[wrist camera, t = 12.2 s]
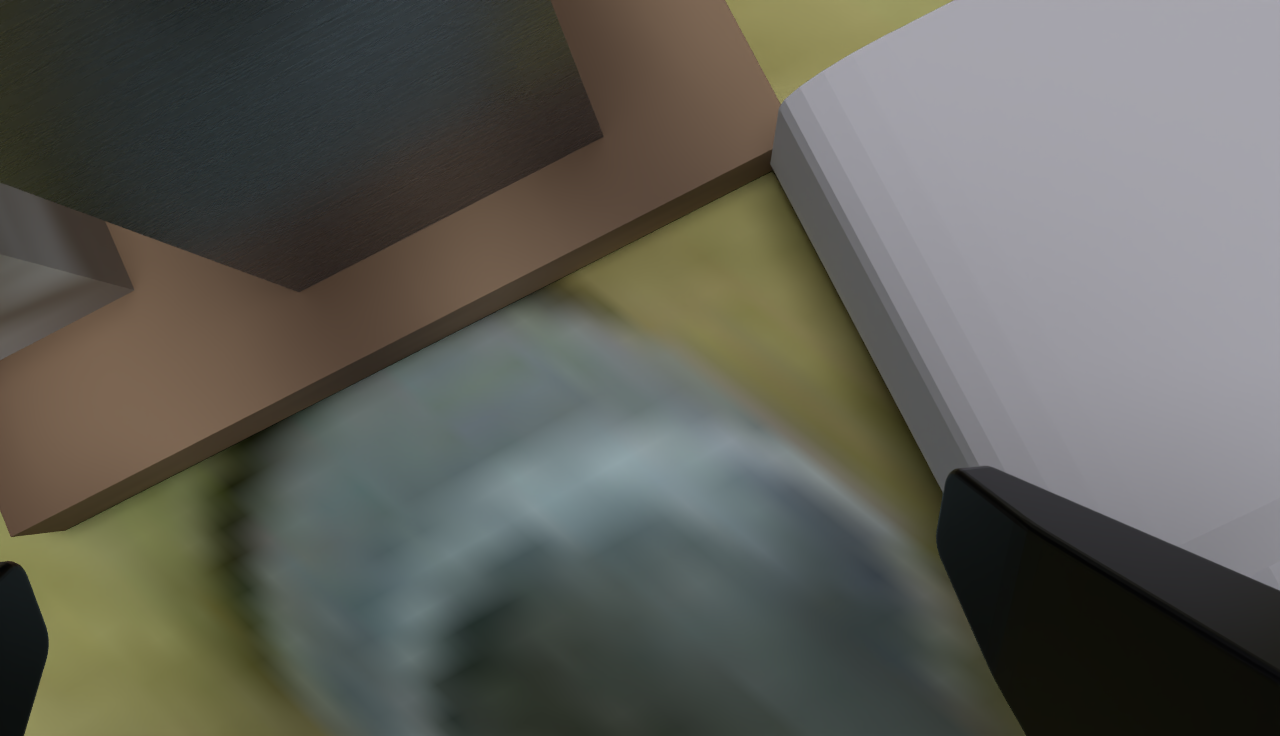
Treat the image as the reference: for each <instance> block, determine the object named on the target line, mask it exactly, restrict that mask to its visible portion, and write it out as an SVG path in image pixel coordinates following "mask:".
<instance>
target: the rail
mask: <svg viewBox="0 0 1280 736" xmlns="http://www.w3.org/2000/svg"><path fill="white" fill-rule="evenodd" d="M551 3H552V5H553V8H554V11H555V13H556V16H557V18H558V21H559V23H560V26H561V28H562V31H563V34H564V36H565V39H566V41H567V44H568V46H569V49H570V51H571V54H572V57H573V59H574V62H575V64H576V67H577V69H578V72H579V74H580V77H581V80H582V82H583V85H584V87H585V90H586V92H587V95H588V97H589V100H590V103H591V105H592V108H593V110H594V113H595V115H596V118H597V120H598V123H599V126H600V128H601V131H602V133H603V136H604V137H602V138H601V139H599V140H597V141H595V142H593V143H591V144H589V145H587V146H585V147H583V148H581V149H579V150H577V151H575V152H573V153H571V154H569V155H567V156H565V157H563V158H561V159H559V160H557V161H556V162H554V163H552V164H550V165H548V166H546V167H544V168H542V169H540V170H538V171H536V172H534V173H532V174H530V175H528V176H526V177H524V178H522V179H520V180H518V181H516V182H514V183H512V184H511V185H509V186H507V187H505V188H503V189H501V190H499V191H497V192H495V193H493V194H491V195H489V196H487V197H485V198H483V199H481V200H479V201H477V202H475V203H473V204H471V205H469V206H467V207H465V208H464V209H462V210H460V211H458V212H456V213H454V214H452V215H450V216H448V217H446V218H444V219H442V220H440V221H438V222H436V223H434V224H432V225H430V226H428V227H426V228H424V229H422V230H420V231H419V232H417V233H415V234H413V235H411V236H409V237H407V238H405V239H403V240H401V241H399V242H397V243H395V244H393V245H391V246H389V247H387V248H385V249H383V250H381V251H379V252H377V253H375V254H374V255H372V256H370V257H368V258H366V259H364V260H362V261H360V262H358V263H356V264H354V265H352V266H350V267H348V268H346V269H344V270H342V271H340V272H338V273H336V274H334V275H332V276H330V277H328V278H327V279H325V280H323V281H321V282H319V283H317V284H315V285H313V286H311V287H309V288H307V289H305V290H303V291H301V292H297V291H294V290H291V289H289V288H286V287H283V286H280V285H278V284H275V283H272V282H269V281H267V280H264V279H261V278H259V277H256V276H253V275H250V274H248V273H245V272H242V271H240V270H237V269H234V268H231V267H229V266H226V265H223V264H220V263H218V262H215V261H212V260H210V259H207V258H204V257H201V256H199V255H196V254H193V253H191V252H188V251H185V250H182V249H180V248H177V247H174V246H171V245H169V244H166V243H163V242H161V241H158V240H155V239H152V238H150V237H147V236H144V235H142V234H139V233H136V232H133V231H131V230H128V229H125V228H122V227H120V226H117V225H114V224H112V223H109V222H106V221H103V220H101V219H98V218H95V217H93V216H90V215H87V214H84V213H82V212H79V211H76V210H73V209H71V208H68V207H65V206H63V205H60V204H57V203H54V202H52V201H49V200H46V199H44V198H41V197H38V196H35V195H33V194H30V193H27V192H24V191H22V190H19V189H16V188H14V187H11V186H8V185H5V184H3V183H0V511H1V513H2V516H3V518H4V521H5V523H6V526H7V528H8V531H9V533H10V536H11V537H15V536H24V535H32V534H40V533H48V532H56V531H64V530H67V529H69V528H71V527H73V526H75V525H77V524H79V523H81V522H83V521H85V520H87V519H88V518H90V517H92V516H94V515H96V514H98V513H100V512H102V511H104V510H106V509H108V508H110V507H112V506H114V505H116V504H118V503H120V502H122V501H124V500H126V499H128V498H130V497H132V496H134V495H136V494H138V493H140V492H142V491H144V490H146V489H147V488H149V487H151V486H153V485H155V484H157V483H159V482H161V481H163V480H165V479H167V478H169V477H171V476H173V475H175V474H177V473H179V472H181V471H183V470H185V469H187V468H189V467H191V466H193V465H195V464H197V463H199V462H201V461H203V460H204V459H206V458H208V457H210V456H212V455H214V454H216V453H218V452H220V451H222V450H224V449H226V448H228V447H230V446H232V445H234V444H236V443H238V442H240V441H242V440H244V439H246V438H248V437H250V436H252V435H254V434H256V433H258V432H260V431H262V430H263V429H265V428H267V427H269V426H271V425H273V424H275V423H277V422H279V421H281V420H283V419H285V418H287V417H289V416H291V415H293V414H295V413H297V412H299V411H301V410H303V409H305V408H307V407H309V406H311V405H313V404H315V403H317V402H319V401H320V400H322V399H324V398H326V397H328V396H330V395H332V394H334V393H336V392H338V391H340V390H342V389H344V388H346V387H348V386H350V385H352V384H354V383H356V382H358V381H360V380H362V379H364V378H366V377H368V376H370V375H372V374H374V373H376V372H378V371H379V370H381V369H383V368H385V367H387V366H389V365H391V364H393V363H395V362H397V361H399V360H401V359H403V358H405V357H407V356H409V355H411V354H413V353H415V352H417V351H419V350H421V349H423V348H425V347H427V346H429V345H431V344H433V343H435V342H437V341H438V340H440V339H442V338H444V337H446V336H448V335H450V334H452V333H454V332H456V331H458V330H460V329H462V328H464V327H466V326H468V325H470V324H472V323H474V322H476V321H478V320H480V319H482V318H484V317H486V316H488V315H490V314H492V313H494V312H495V311H497V310H499V309H501V308H503V307H505V306H507V305H509V304H511V303H513V302H515V301H517V300H519V299H521V298H523V297H525V296H527V295H529V294H531V293H533V292H535V291H537V290H539V289H541V288H543V287H545V286H547V285H549V284H551V283H553V282H554V281H556V280H558V279H560V278H562V277H564V276H566V275H568V274H570V273H572V272H574V271H576V270H578V269H580V268H582V267H584V266H586V265H588V264H590V263H592V262H594V261H596V260H598V259H600V258H602V257H604V256H606V255H608V254H610V253H611V252H613V251H615V250H617V249H619V248H621V247H623V246H625V245H627V244H629V243H631V242H633V241H635V240H637V239H639V238H641V237H643V236H645V235H647V234H649V233H651V232H653V231H655V230H657V229H659V228H661V227H663V226H665V225H667V224H669V223H670V222H672V221H674V220H676V219H678V218H680V217H682V216H684V215H686V214H688V213H690V212H692V211H694V210H696V209H698V208H700V207H702V206H704V205H706V204H708V203H710V202H712V201H714V200H716V199H718V198H720V197H722V196H724V195H726V194H728V193H729V192H731V191H733V190H735V189H737V188H739V187H741V186H743V185H745V184H747V183H749V182H751V181H753V180H755V179H757V178H759V177H761V176H763V175H765V174H767V173H769V172H771V171H773V168H772V167H771V165H770V162H771V155H772V149H773V143H774V136H775V130H776V123H777V117H778V110H779V107H780V106H781V104H780V102H779V100H778V99H777V97H776V95H775V93H774V91H773V89H772V87H771V85H770V84H769V82H768V80H767V78H766V76H765V74H764V72H763V71H762V69H761V67H760V65H759V63H758V61H757V59H756V57H755V56H754V54H753V52H752V50H751V48H750V46H749V44H748V42H747V41H746V39H745V37H744V35H743V33H742V31H741V29H740V28H739V26H738V24H737V22H736V20H735V18H734V16H733V14H732V13H731V11H730V9H729V7H728V5H727V3H726V1H725V0H551Z"/></svg>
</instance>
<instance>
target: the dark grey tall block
mask: <svg viewBox="0 0 1280 736" xmlns="http://www.w3.org/2000/svg"><path fill="white" fill-rule="evenodd" d="M602 137H604V136H603V133H602V131H601V128H600V126H599V123H598V120H597V118H596V115H595V113H594V110H593V108H592V105H591V103H590V100H589V97H588V95H587V92H586V90H585V87H584V85H583V82H582V80H581V77H580V74H579V72H578V69H577V67H576V64H575V62H574V59H573V57H572V54H571V51H570V49H569V46H568V44H567V41H566V39H565V36H564V34H563V31H562V28H561V26H560V23H559V21H558V18H557V16H556V13H555V11H554V8H553V5H552V3H551V0H0V183H3V184H5V185H8V186H11V187H14V188H16V189H19V190H22V191H24V192H27V193H30V194H33V195H35V196H38V197H41V198H44V199H46V200H49V201H52V202H54V203H57V204H60V205H63V206H65V207H68V208H71V209H73V210H76V211H79V212H82V213H84V214H87V215H90V216H93V217H95V218H98V219H101V220H103V221H106V222H109V223H112V224H114V225H117V226H120V227H122V228H125V229H128V230H131V231H133V232H136V233H139V234H142V235H144V236H147V237H150V238H152V239H155V240H158V241H161V242H163V243H166V244H169V245H171V246H174V247H177V248H180V249H182V250H185V251H188V252H191V253H193V254H196V255H199V256H201V257H204V258H207V259H210V260H212V261H215V262H218V263H220V264H223V265H226V266H229V267H231V268H234V269H237V270H240V271H242V272H245V273H248V274H250V275H253V276H256V277H259V278H261V279H264V280H267V281H269V282H272V283H275V284H278V285H280V286H283V287H286V288H289V289H291V290H294V291H297V292H301V291H303V290H305V289H307V288H309V287H311V286H313V285H315V284H317V283H319V282H321V281H323V280H325V279H327V278H328V277H330V276H332V275H334V274H336V273H338V272H340V271H342V270H344V269H346V268H348V267H350V266H352V265H354V264H356V263H358V262H360V261H362V260H364V259H366V258H368V257H370V256H372V255H374V254H375V253H377V252H379V251H381V250H383V249H385V248H387V247H389V246H391V245H393V244H395V243H397V242H399V241H401V240H403V239H405V238H407V237H409V236H411V235H413V234H415V233H417V232H419V231H420V230H422V229H424V228H426V227H428V226H430V225H432V224H434V223H436V222H438V221H440V220H442V219H444V218H446V217H448V216H450V215H452V214H454V213H456V212H458V211H460V210H462V209H464V208H465V207H467V206H469V205H471V204H473V203H475V202H477V201H479V200H481V199H483V198H485V197H487V196H489V195H491V194H493V193H495V192H497V191H499V190H501V189H503V188H505V187H507V186H509V185H511V184H512V183H514V182H516V181H518V180H520V179H522V178H524V177H526V176H528V175H530V174H532V173H534V172H536V171H538V170H540V169H542V168H544V167H546V166H548V165H550V164H552V163H554V162H556V161H557V160H559V159H561V158H563V157H565V156H567V155H569V154H571V153H573V152H575V151H577V150H579V149H581V148H583V147H585V146H587V145H589V144H591V143H593V142H595V141H597V140H599V139H601V138H602Z"/></svg>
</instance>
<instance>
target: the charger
mask: <svg viewBox="0 0 1280 736" xmlns="http://www.w3.org/2000/svg"><path fill="white" fill-rule="evenodd" d="M770 165H771V167H772V168H773V170H774V172H775V174H776V176H777V178H778V180H779V182H780V184H781V186H782V187H783V189H784V191H785V193H786V195H787V197H788V199H789V201H790V203H791V205H792V206H793V208H794V210H795V212H796V214H797V216H798V218H799V220H800V222H801V224H802V225H803V227H804V229H805V231H806V233H807V235H808V237H809V239H810V241H811V243H812V245H813V246H814V248H815V250H816V252H817V254H818V256H819V258H820V260H821V262H822V264H823V265H824V267H825V269H826V271H827V273H828V275H829V277H830V279H831V281H832V283H833V284H834V286H835V288H836V290H837V292H838V294H839V296H840V298H841V300H842V302H843V304H844V305H845V307H846V309H847V311H848V313H849V315H850V317H851V319H852V321H853V323H854V324H855V326H856V328H857V330H858V332H859V334H860V336H861V338H862V340H863V342H864V343H865V345H866V347H867V349H868V351H869V353H870V355H871V357H872V359H873V361H874V363H875V364H876V366H877V368H878V370H879V372H880V374H881V376H882V378H883V380H884V382H885V383H886V385H887V387H888V389H889V391H890V393H891V395H892V397H893V399H894V401H895V402H896V404H897V406H898V408H899V410H900V412H901V414H902V416H903V418H904V420H905V421H906V423H907V425H908V427H909V429H910V431H911V433H912V435H913V437H914V439H915V441H916V442H917V444H918V446H919V448H920V450H921V452H922V454H923V456H924V458H925V460H926V461H927V463H928V465H929V467H930V469H931V471H932V473H933V475H934V477H935V479H936V480H937V482H938V484H939V486H940V488H941V490H942V492H943V491H944V485H945V481H946V478H947V476H948V474H949V473H950V472H951V471H952V470H954V469H956V468H965V467H975V466H991V467H994V468H996V469H999V470H1001V471H1003V472H1006V473H1008V474H1010V475H1013V476H1015V477H1017V478H1020V479H1022V480H1024V481H1027V482H1029V483H1031V484H1034V485H1036V486H1038V487H1040V488H1043V489H1045V490H1047V491H1050V492H1052V493H1054V494H1057V495H1059V496H1061V497H1064V498H1066V499H1068V500H1071V501H1073V502H1075V503H1078V504H1080V505H1082V506H1085V507H1087V508H1089V509H1092V510H1094V511H1096V512H1099V513H1101V514H1103V515H1106V516H1108V517H1110V518H1113V519H1115V520H1117V521H1120V522H1122V523H1124V524H1127V525H1129V526H1131V527H1134V528H1136V529H1138V530H1141V531H1143V532H1145V533H1147V534H1150V535H1152V536H1154V537H1157V538H1159V539H1161V540H1164V541H1166V542H1168V543H1171V544H1173V545H1175V546H1178V547H1180V548H1182V549H1185V550H1187V551H1189V552H1192V553H1194V554H1196V555H1199V556H1201V557H1203V558H1206V559H1208V560H1210V561H1213V562H1215V563H1217V564H1220V565H1222V566H1224V567H1227V568H1229V569H1231V570H1234V571H1236V572H1238V573H1241V574H1243V575H1245V576H1248V577H1250V578H1252V579H1254V580H1257V581H1259V582H1261V583H1264V584H1266V585H1268V586H1271V587H1273V588H1275V589H1278V590H1280V0H954V1H952V2H950V3H948V4H946V5H944V6H942V7H940V8H938V9H936V10H934V11H932V12H930V13H928V14H926V15H924V16H922V17H920V18H918V19H916V20H914V21H912V22H911V23H909V24H907V25H905V26H903V27H901V28H899V29H897V30H895V31H893V32H891V33H889V34H887V35H885V36H883V37H881V38H879V39H877V40H876V41H874V42H872V43H870V44H868V45H866V46H864V47H863V48H861V49H859V50H857V51H855V52H853V53H851V54H850V55H848V56H846V57H845V58H843V59H842V60H840V61H838V62H837V63H835V64H833V65H832V66H830V67H828V68H827V69H825V70H823V71H822V72H820V73H819V74H817V75H816V76H815V77H813V78H812V79H810V80H809V81H807V82H806V83H804V84H803V85H802V86H800V87H799V88H798V89H796V90H795V91H794V92H793V93H792V94H791V95H789V96H788V97H787V98H786V99H785V100H784V101H783V103H782V104H781V106H780V107H779V110H778V117H777V123H776V130H775V136H774V143H773V149H772V155H771V162H770Z"/></svg>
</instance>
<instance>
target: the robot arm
mask: <svg viewBox="0 0 1280 736" xmlns="http://www.w3.org/2000/svg"><path fill="white" fill-rule="evenodd" d="M936 542H937V548H938V552H939V555H940V558H941V560H942V563H943V565H944V567H945V570H946V572H947V574H948V576H949V579H950V581H951V583H952V585H953V588H954V590H955V592H956V595H957V597H958V599H959V601H960V604H961V606H962V608H963V611H964V613H965V615H966V617H967V620H968V622H969V624H970V626H971V629H972V631H973V633H974V636H975V638H976V640H977V642H978V645H979V647H980V649H981V651H982V654H983V656H984V658H985V660H986V662H987V665H988V667H989V669H990V671H991V673H992V675H993V677H994V679H995V681H996V683H997V685H998V686H999V688H1000V690H1001V692H1002V694H1003V696H1004V697H1005V699H1006V701H1007V703H1008V704H1009V706H1010V708H1011V710H1012V711H1013V713H1014V715H1015V717H1016V718H1017V720H1018V722H1019V724H1020V725H1021V727H1022V729H1023V731H1024V732H1025V734H1026V736H1280V590H1278V589H1275V588H1273V587H1271V586H1268V585H1266V584H1264V583H1261V582H1259V581H1257V580H1254V579H1252V578H1250V577H1248V576H1245V575H1243V574H1241V573H1238V572H1236V571H1234V570H1231V569H1229V568H1227V567H1224V566H1222V565H1220V564H1217V563H1215V562H1213V561H1210V560H1208V559H1206V558H1203V557H1201V556H1199V555H1196V554H1194V553H1192V552H1189V551H1187V550H1185V549H1182V548H1180V547H1178V546H1175V545H1173V544H1171V543H1168V542H1166V541H1164V540H1161V539H1159V538H1157V537H1154V536H1152V535H1150V534H1147V533H1145V532H1143V531H1141V530H1138V529H1136V528H1134V527H1131V526H1129V525H1127V524H1124V523H1122V522H1120V521H1117V520H1115V519H1113V518H1110V517H1108V516H1106V515H1103V514H1101V513H1099V512H1096V511H1094V510H1092V509H1089V508H1087V507H1085V506H1082V505H1080V504H1078V503H1075V502H1073V501H1071V500H1068V499H1066V498H1064V497H1061V496H1059V495H1057V494H1054V493H1052V492H1050V491H1047V490H1045V489H1043V488H1040V487H1038V486H1036V485H1034V484H1031V483H1029V482H1027V481H1024V480H1022V479H1020V478H1017V477H1015V476H1013V475H1010V474H1008V473H1006V472H1003V471H1001V470H999V469H996V468H994V467H991V466H975V467H965V468H956V469H954V470H952V471H951V472H950V473H949V474H948V476H947V478H946V481H945V485H944V491H943V497H942V503H941V508H940V514H939V520H938V526H937V533H936ZM48 647H49V639H48V632H47V628H46V625H45V622H44V620H43V617H42V614H41V612H40V609H39V606H38V603H37V601H36V598H35V595H34V593H33V590H32V587H31V584H30V582H29V579H28V576H27V574H26V572H25V570H24V569H23V568H22V567H21V566H20V565H19V564H17V563H15V562H12V561H6V562H0V736H24V734H25V730H26V727H27V723H28V720H29V717H30V713H31V710H32V707H33V703H34V700H35V696H36V693H37V690H38V686H39V683H40V679H41V676H42V673H43V669H44V666H45V663H46V659H47V655H48Z"/></svg>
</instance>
